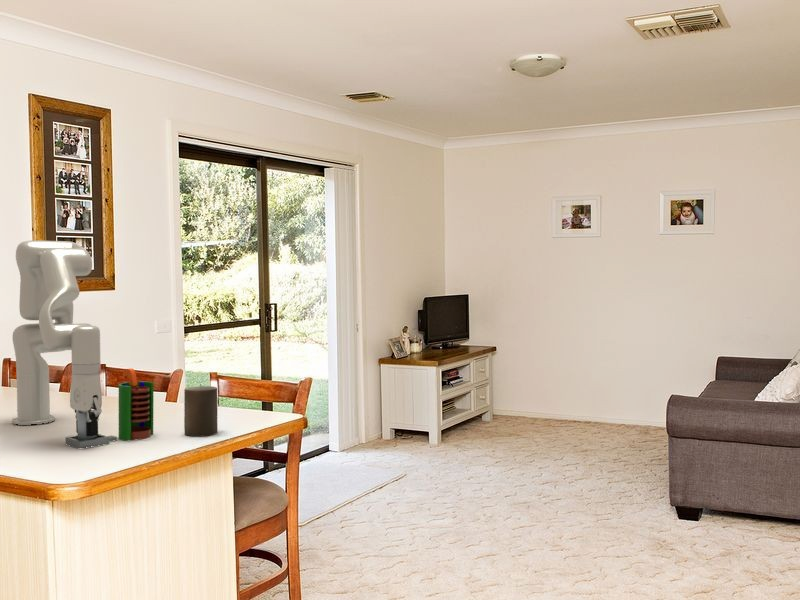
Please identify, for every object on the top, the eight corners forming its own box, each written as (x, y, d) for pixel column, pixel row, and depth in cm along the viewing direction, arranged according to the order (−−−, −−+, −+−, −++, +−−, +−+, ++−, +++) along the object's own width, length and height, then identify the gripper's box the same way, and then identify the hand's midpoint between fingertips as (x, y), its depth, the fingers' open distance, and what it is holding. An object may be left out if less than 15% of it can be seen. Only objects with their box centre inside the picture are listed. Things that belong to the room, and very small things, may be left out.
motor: (139, 441, 227) (139, 371, 226) (111, 439, 229) (110, 370, 228) (157, 434, 237) (156, 367, 236) (130, 432, 239) (129, 366, 238)
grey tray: (65, 444, 223) (65, 437, 223) (106, 437, 232) (106, 430, 232) (80, 449, 217) (79, 441, 217) (121, 441, 226) (121, 434, 226)
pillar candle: (209, 437, 232) (209, 386, 232) (178, 435, 234) (178, 385, 233) (222, 431, 242) (222, 382, 241) (192, 429, 243) (192, 381, 243)
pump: (74, 437, 223) (73, 405, 222) (91, 434, 226) (90, 403, 226) (82, 439, 219) (82, 408, 219) (100, 436, 223) (99, 405, 223)
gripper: (59, 368, 225) (60, 432, 226) (88, 373, 214) (89, 440, 214) (84, 366, 231) (85, 428, 231) (114, 371, 219) (115, 436, 220)
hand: (87, 433), depth 223 cm, fingers closed on pump, 5 cm apart
